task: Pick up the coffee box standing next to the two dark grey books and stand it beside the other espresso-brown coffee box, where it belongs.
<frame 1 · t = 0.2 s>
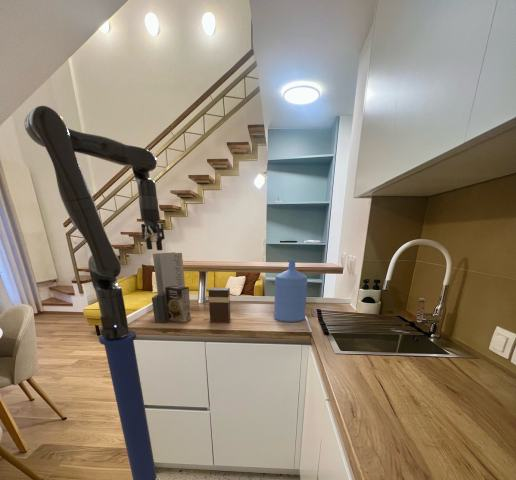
hand: (154, 249, 121), 33 cm above the countertop, tool pointing down, fingers open, 8 cm apart
grey books: (164, 319, 137), on the countertop
water jug: (289, 318, 142), on the countertop
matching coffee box: (220, 320, 136), on the countertop
tall grey box: (173, 310, 154), on the countertop
coffee box: (180, 320, 137), on the countertop
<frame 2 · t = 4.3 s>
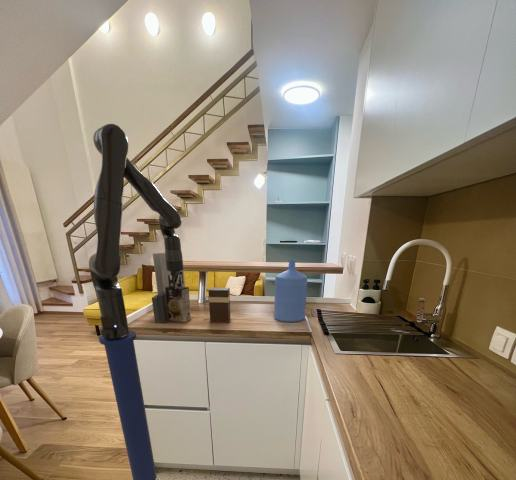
hand: (177, 295, 132), 12 cm above the countertop, tool pointing down, fingers closed on coffee box, 7 cm apart
coffee box: (180, 320, 137), on the countertop, touching gripper
everything else where it was.
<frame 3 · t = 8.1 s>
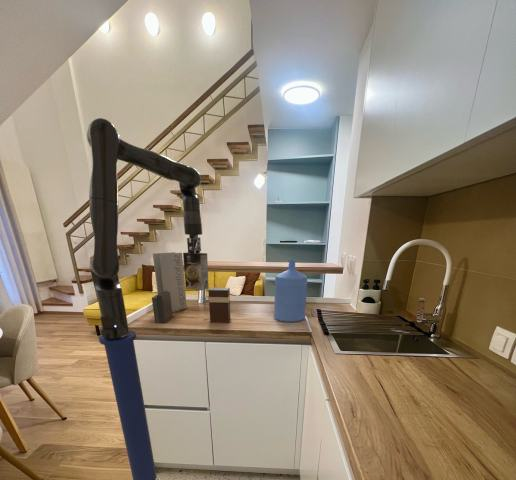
hand: (195, 262, 126), 27 cm above the countertop, tool pointing down, fingers closed on coffee box, 7 cm apart
coffee box: (197, 289, 131), point 15 cm above the countertop, touching gripper
everything else where it was.
when the fingers open (12 cm above the countertop, at t = 12.2 s): coffee box stays where it is, on the countertop.
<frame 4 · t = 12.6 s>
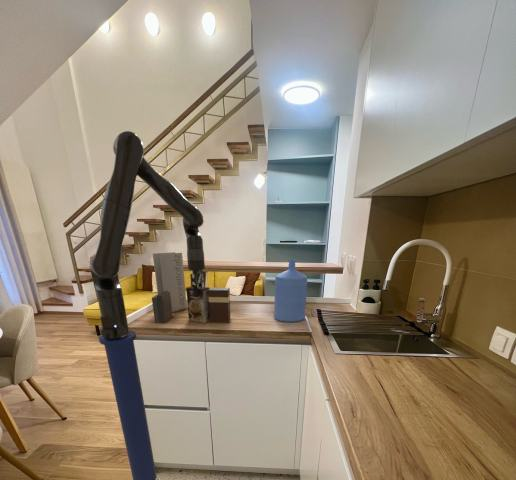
hand: (198, 294, 132), 13 cm above the countertop, tool pointing down, fingers open, 8 cm apart
coffee box: (200, 320, 137), on the countertop
everything else where it was.
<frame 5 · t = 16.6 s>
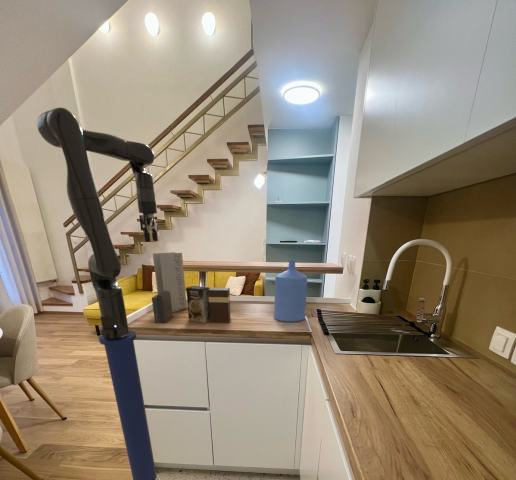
hand: (151, 241, 126), 36 cm above the countertop, tool pointing down, fingers open, 8 cm apart
nothing on the countertop moved.
at the end: coffee box 0.1 cm from the target spot, on the countertop; coffee box tilted 0°; coffee box 10.1 cm from the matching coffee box (horizontally) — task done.
